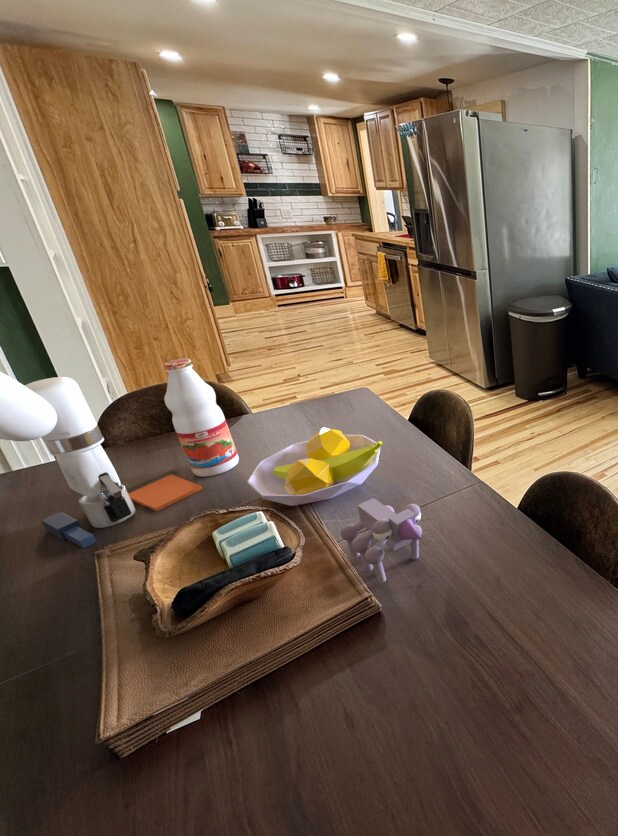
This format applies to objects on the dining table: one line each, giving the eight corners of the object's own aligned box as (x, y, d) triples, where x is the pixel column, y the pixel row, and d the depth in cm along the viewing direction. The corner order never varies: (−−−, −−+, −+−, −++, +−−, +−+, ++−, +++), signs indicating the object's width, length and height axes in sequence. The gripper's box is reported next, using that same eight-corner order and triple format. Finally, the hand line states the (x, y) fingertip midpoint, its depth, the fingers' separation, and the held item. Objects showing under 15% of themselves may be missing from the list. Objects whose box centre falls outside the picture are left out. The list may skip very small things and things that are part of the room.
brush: (80, 550, 91) (73, 538, 90) (47, 531, 96) (40, 520, 95) (100, 540, 93) (94, 528, 92) (66, 522, 98) (60, 511, 97)
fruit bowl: (227, 506, 103) (210, 462, 99) (329, 446, 127) (319, 408, 122) (326, 534, 95) (312, 486, 90) (415, 464, 118) (408, 424, 114)
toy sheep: (455, 573, 85) (445, 511, 80) (401, 612, 77) (386, 547, 72) (394, 528, 96) (382, 472, 91) (341, 558, 88) (325, 498, 83)
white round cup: (101, 531, 96) (89, 507, 94) (85, 522, 98) (72, 499, 96) (142, 511, 102) (131, 488, 99) (125, 504, 104) (114, 481, 102)
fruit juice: (241, 453, 124) (205, 352, 113) (238, 470, 116) (199, 364, 105) (196, 463, 119) (154, 359, 108) (190, 482, 112) (144, 372, 101)
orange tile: (156, 511, 102) (154, 508, 101) (126, 498, 106) (124, 495, 106) (202, 488, 109) (201, 486, 109) (172, 477, 114) (171, 474, 113)
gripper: (27, 439, 93) (68, 513, 100) (70, 458, 86) (111, 535, 93) (78, 423, 99) (113, 493, 106) (122, 439, 92) (156, 513, 99)
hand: (111, 512), depth 100 cm, fingers closed on white round cup, 6 cm apart
